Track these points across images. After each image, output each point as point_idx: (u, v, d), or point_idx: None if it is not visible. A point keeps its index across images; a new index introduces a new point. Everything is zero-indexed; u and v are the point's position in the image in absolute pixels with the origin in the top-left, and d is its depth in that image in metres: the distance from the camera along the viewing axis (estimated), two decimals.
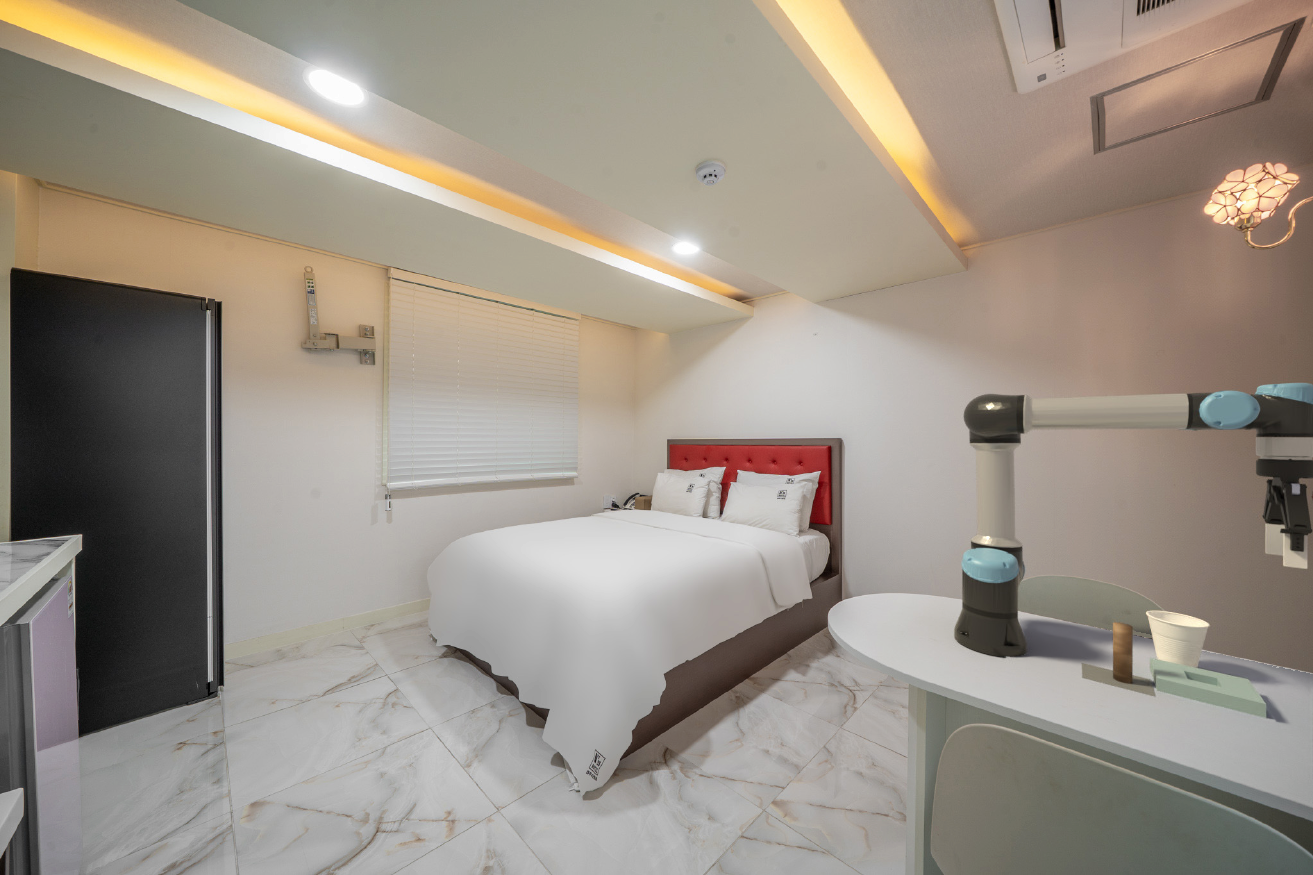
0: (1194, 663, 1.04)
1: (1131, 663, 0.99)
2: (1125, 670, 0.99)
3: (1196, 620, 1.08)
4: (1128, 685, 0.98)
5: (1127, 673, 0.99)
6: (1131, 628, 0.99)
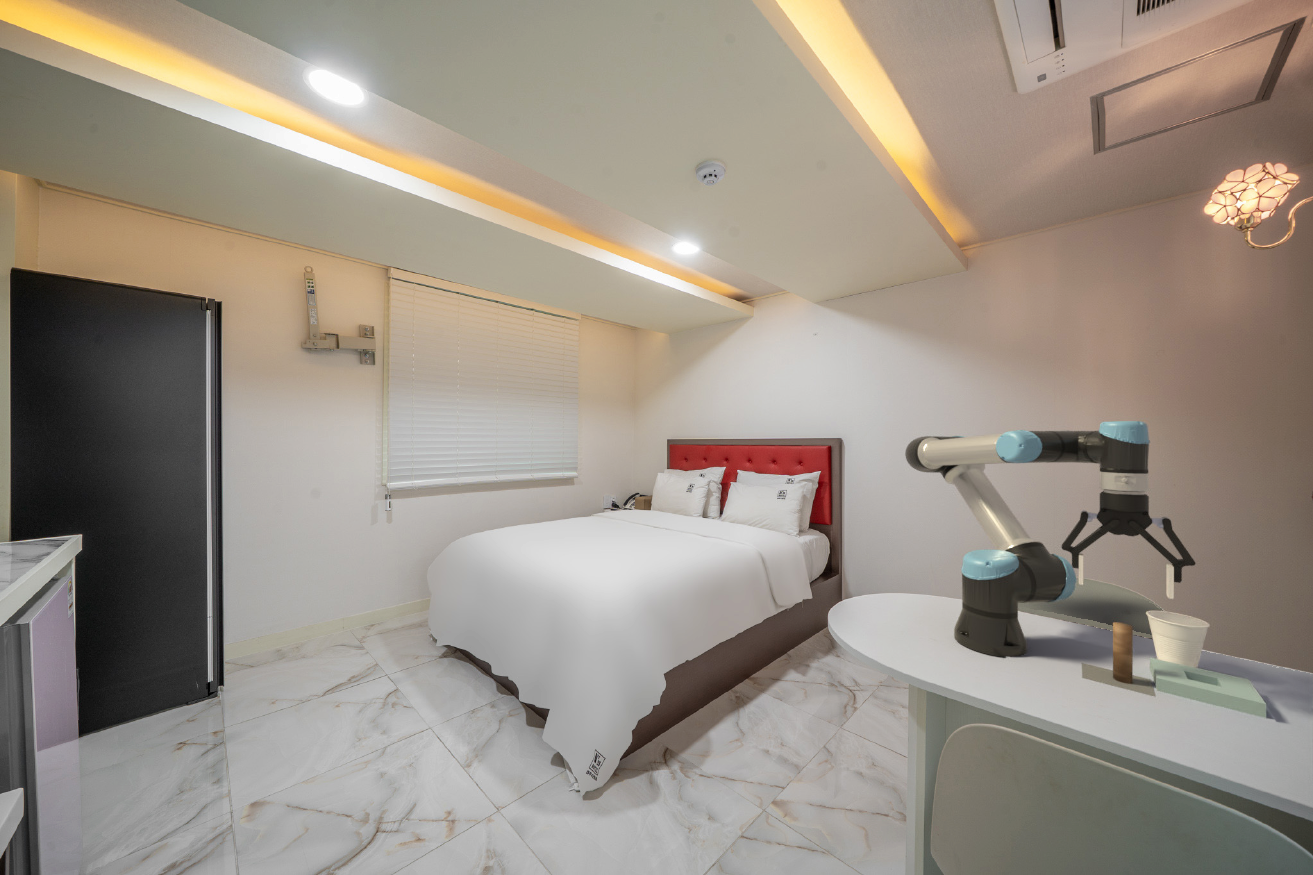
0: (1194, 663, 1.04)
1: (1131, 663, 0.99)
2: (1125, 670, 0.99)
3: (1196, 620, 1.08)
4: (1128, 685, 0.98)
5: (1127, 673, 0.99)
6: (1131, 628, 0.99)
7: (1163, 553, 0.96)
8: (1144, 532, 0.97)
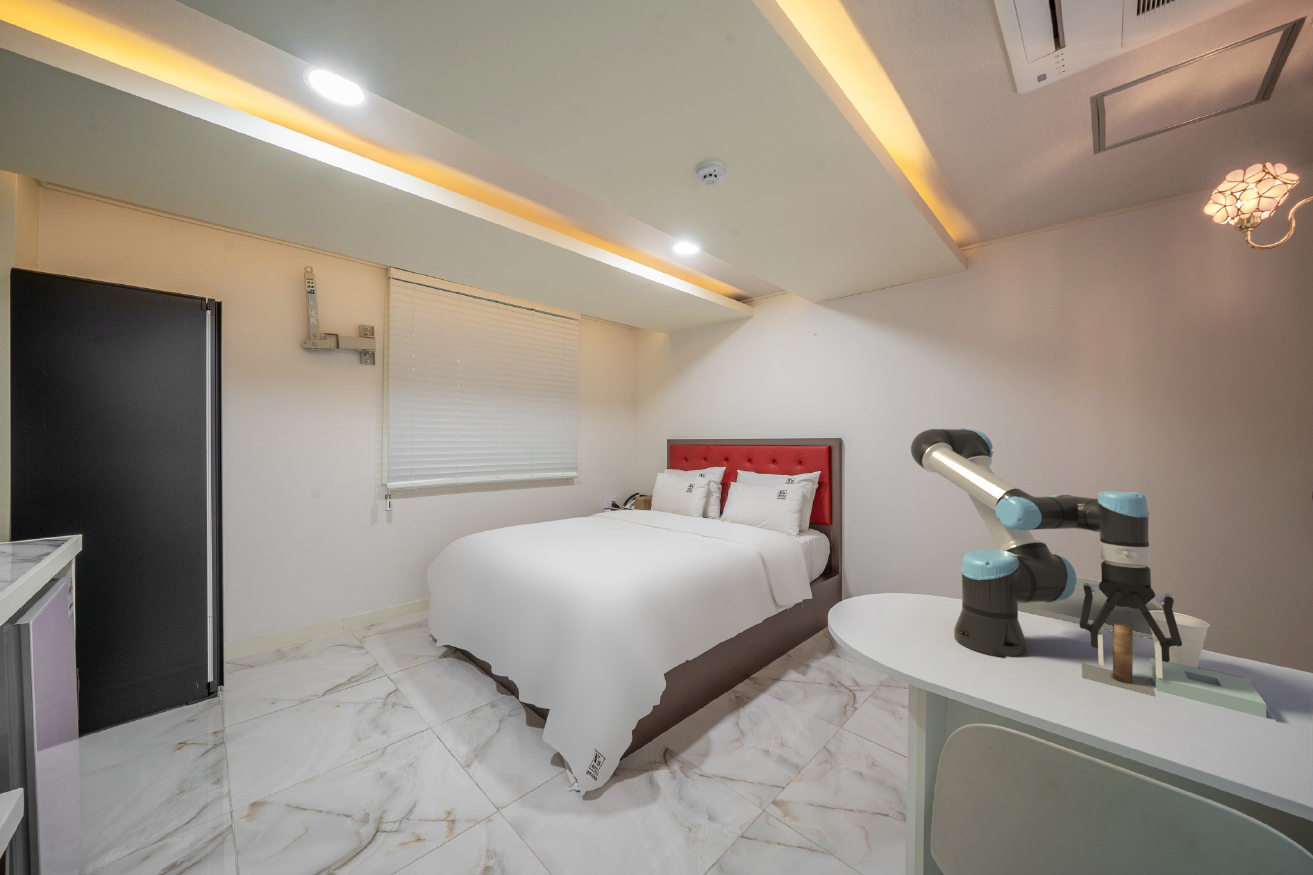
0: (1194, 663, 1.04)
1: (1131, 663, 0.99)
2: (1125, 670, 0.99)
3: (1196, 620, 1.08)
4: (1128, 685, 0.98)
5: (1127, 673, 0.99)
6: (1131, 628, 0.99)
7: (1154, 630, 0.96)
8: (1143, 607, 0.97)
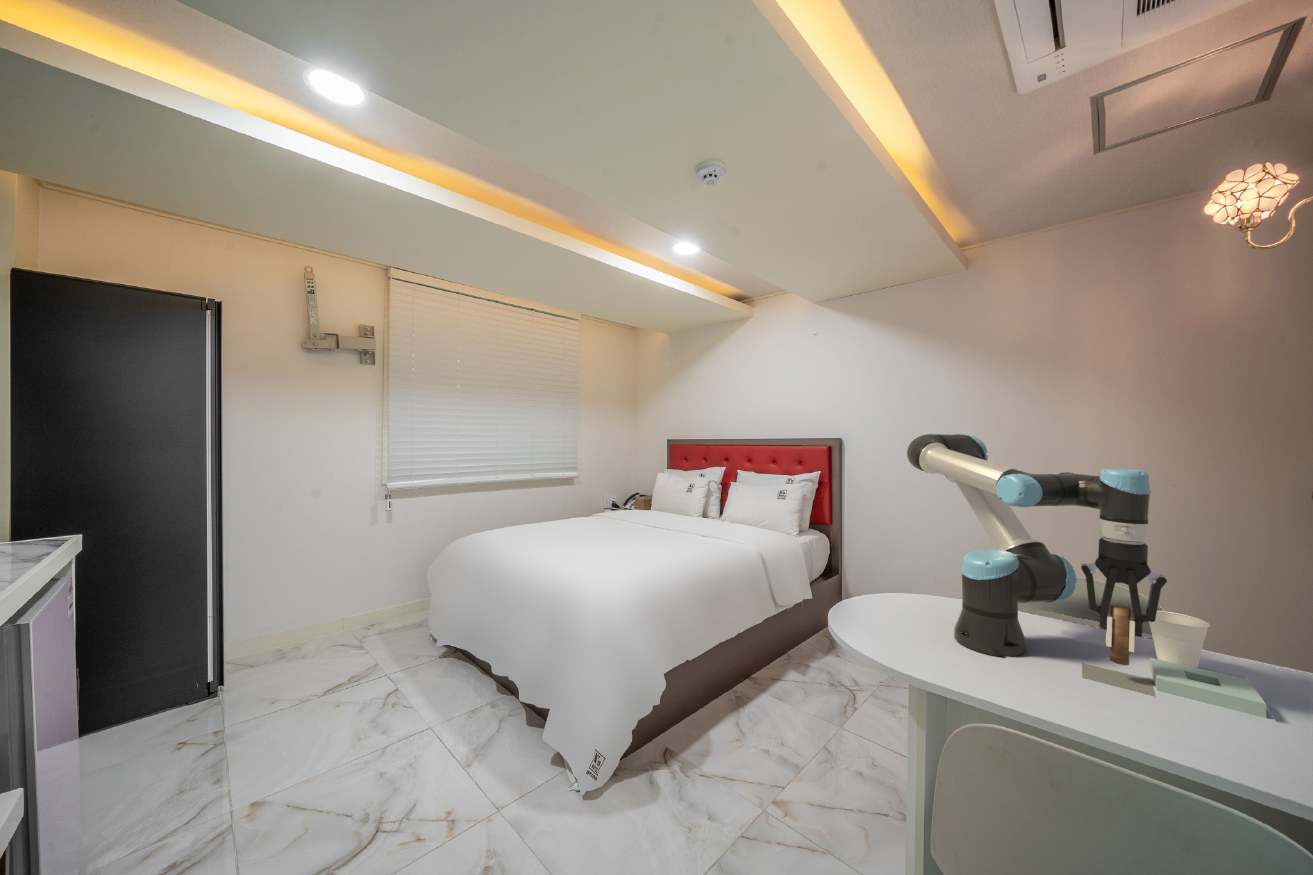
0: (1194, 663, 1.04)
1: (1128, 645, 1.00)
2: (1122, 652, 1.00)
3: (1196, 620, 1.08)
4: (1128, 685, 0.98)
5: (1124, 655, 1.00)
6: (1129, 610, 0.99)
7: (1134, 606, 0.99)
8: (1134, 584, 0.98)
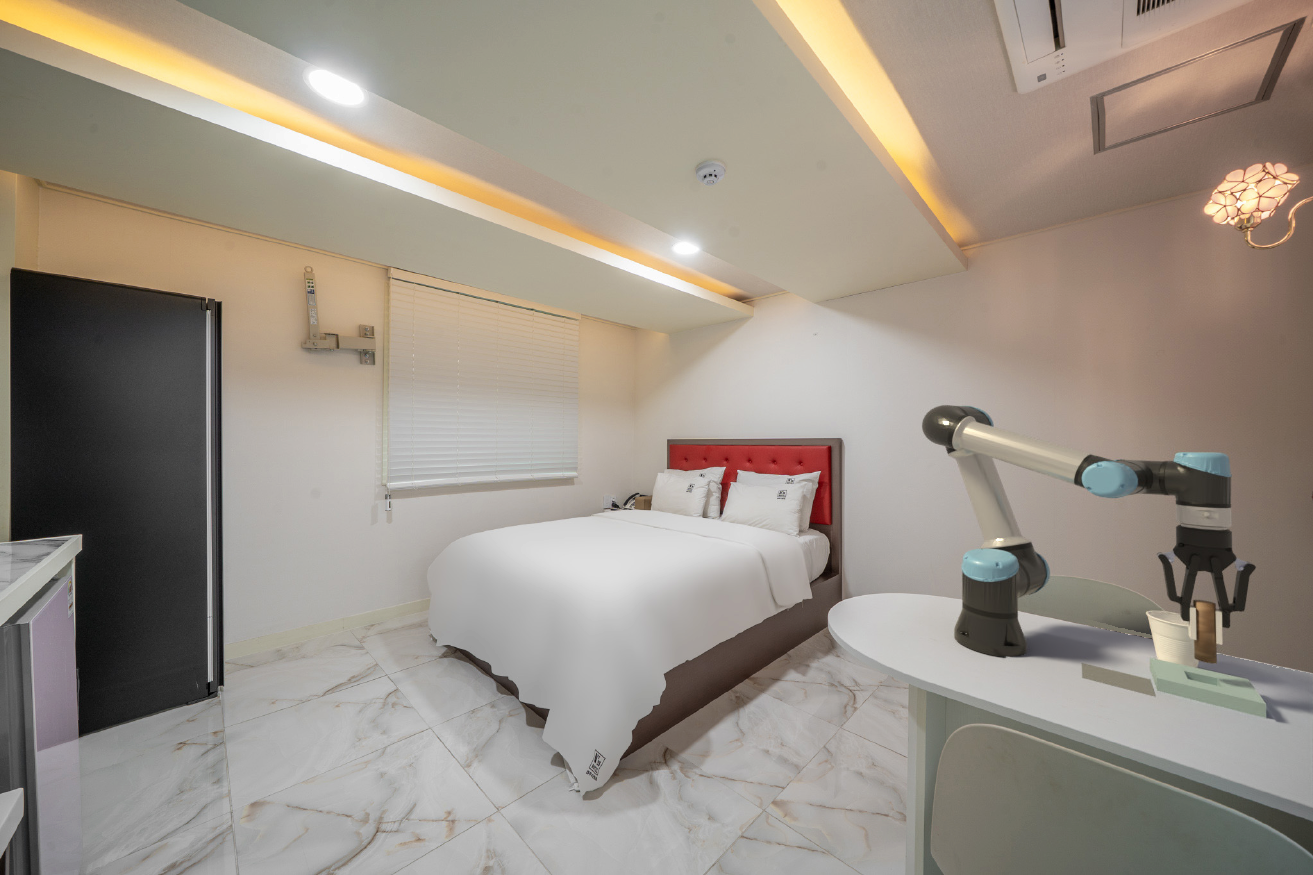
0: (1194, 663, 1.04)
1: (1215, 642, 0.94)
2: (1209, 650, 0.94)
3: None
4: (1128, 685, 0.98)
5: (1211, 653, 0.94)
6: (1214, 605, 0.95)
7: (1220, 595, 0.94)
8: (1219, 571, 0.93)
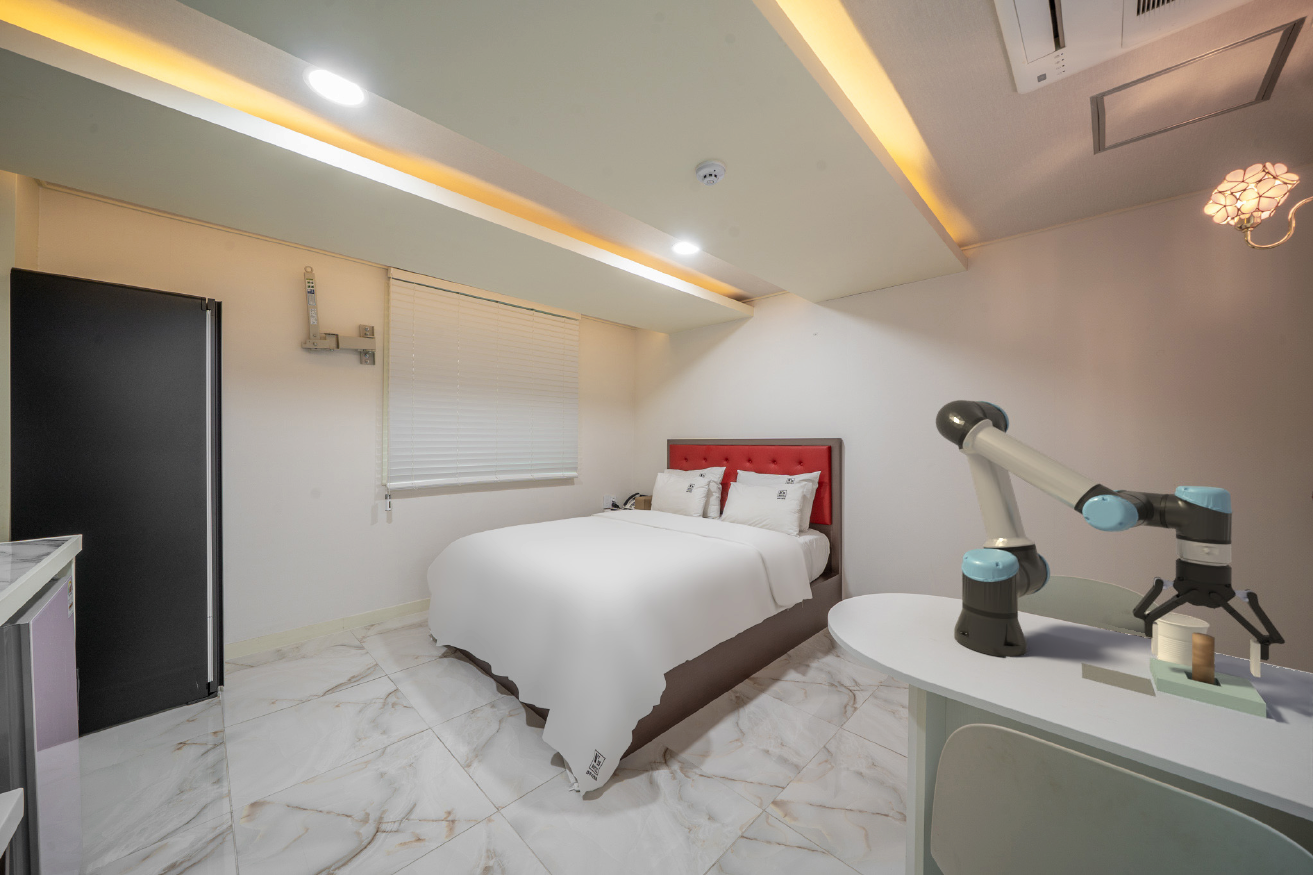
0: None
1: (1213, 676, 0.95)
2: (1207, 683, 0.95)
3: (1196, 620, 1.08)
4: (1128, 685, 0.98)
5: None
6: (1213, 639, 0.95)
7: (1248, 628, 0.91)
8: (1227, 605, 0.93)
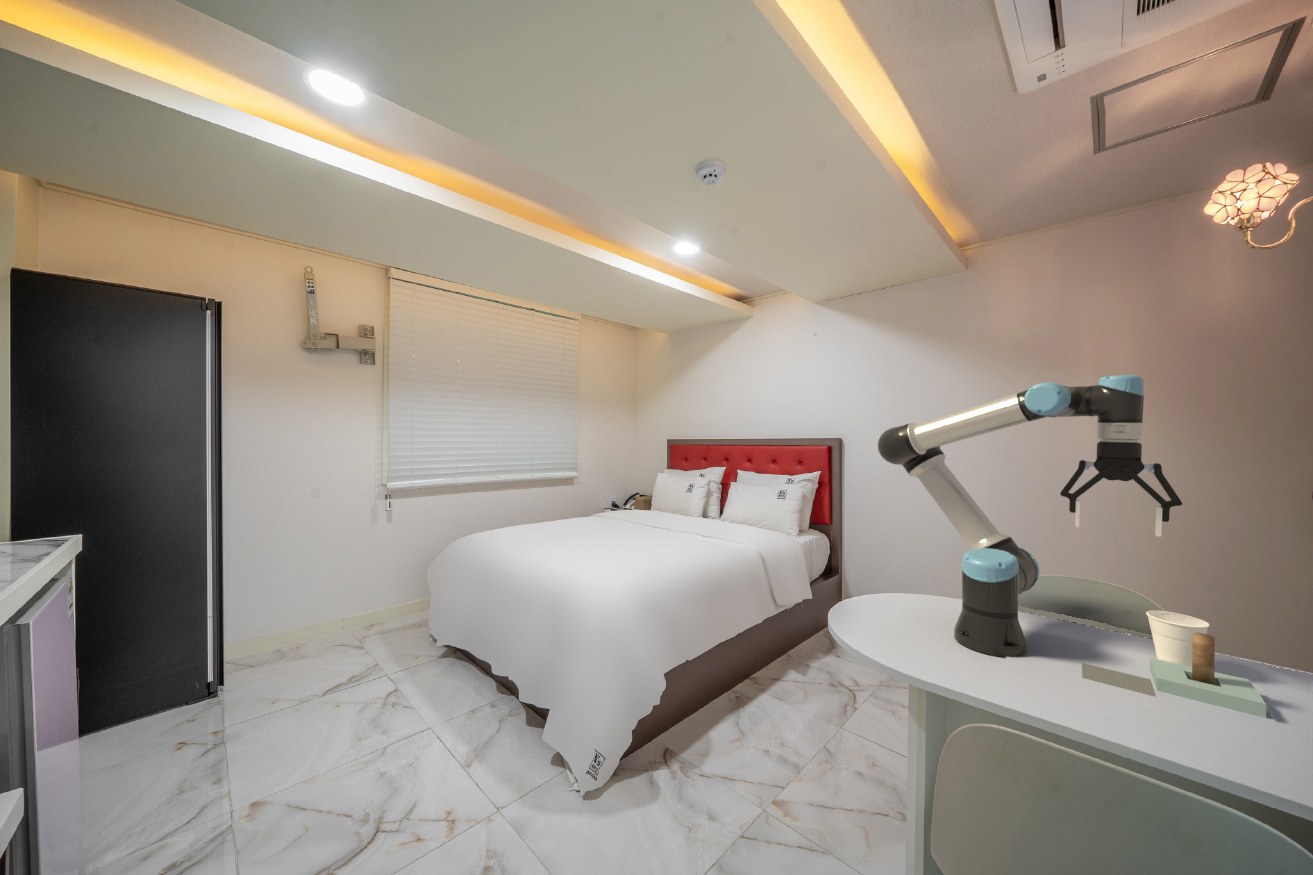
0: None
1: (1213, 676, 0.95)
2: (1207, 683, 0.95)
3: (1196, 620, 1.08)
4: (1128, 685, 0.98)
5: None
6: (1213, 639, 0.95)
7: (1153, 495, 1.05)
8: (1136, 477, 1.06)
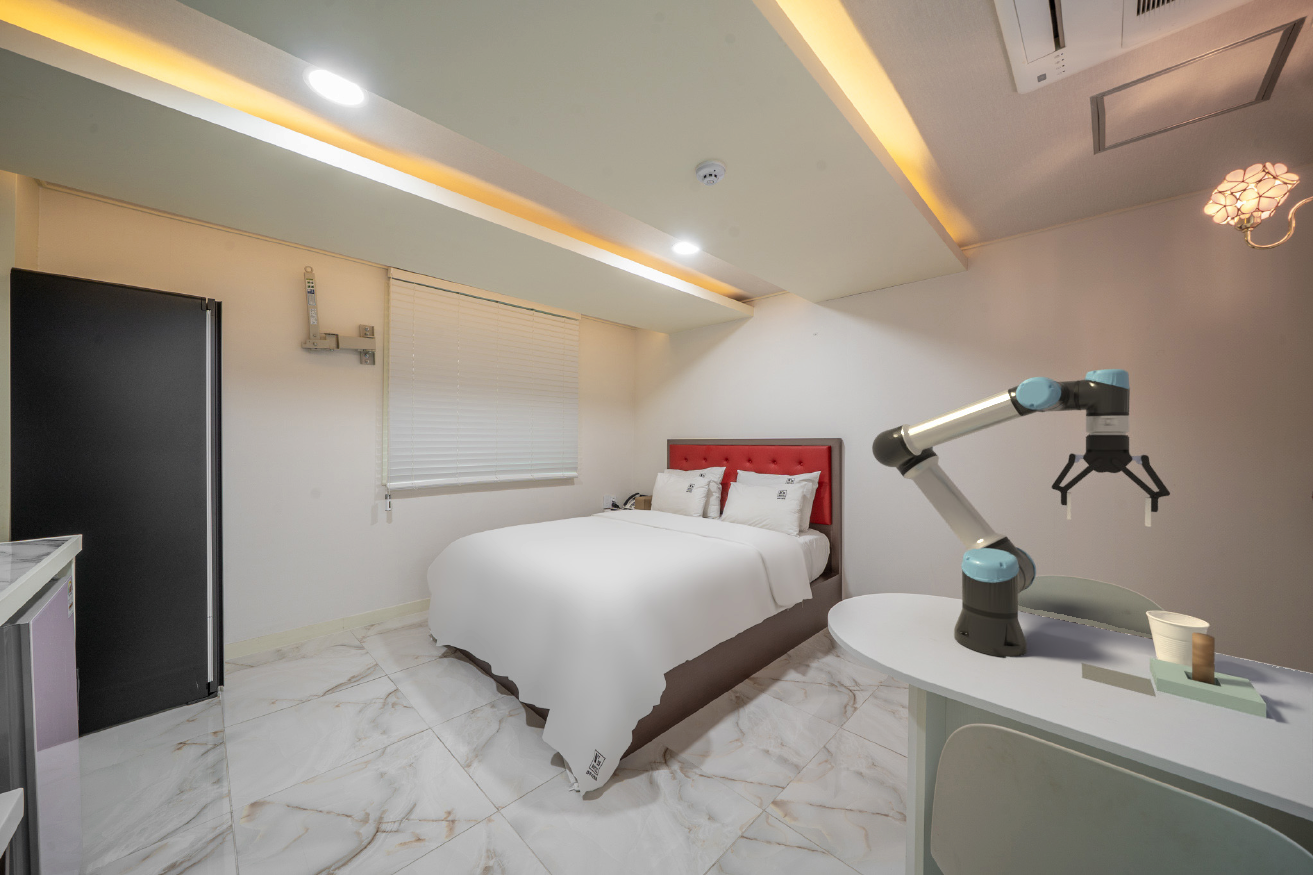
0: None
1: (1213, 676, 0.95)
2: (1207, 683, 0.95)
3: (1196, 620, 1.08)
4: (1128, 685, 0.98)
5: None
6: (1213, 639, 0.95)
7: (1141, 486, 1.07)
8: (1125, 468, 1.08)
